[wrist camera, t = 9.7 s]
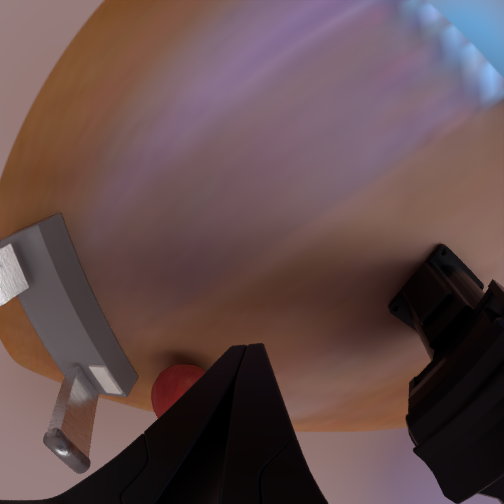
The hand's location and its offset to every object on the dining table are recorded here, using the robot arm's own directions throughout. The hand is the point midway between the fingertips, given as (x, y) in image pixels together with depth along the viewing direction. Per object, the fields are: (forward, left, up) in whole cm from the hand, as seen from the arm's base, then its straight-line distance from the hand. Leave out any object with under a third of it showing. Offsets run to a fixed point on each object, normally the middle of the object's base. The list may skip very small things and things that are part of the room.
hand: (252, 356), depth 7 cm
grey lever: (+7, +23, -9) cm, 26 cm away
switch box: (+11, +18, -13) cm, 25 cm away
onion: (-2, +16, -13) cm, 21 cm away
